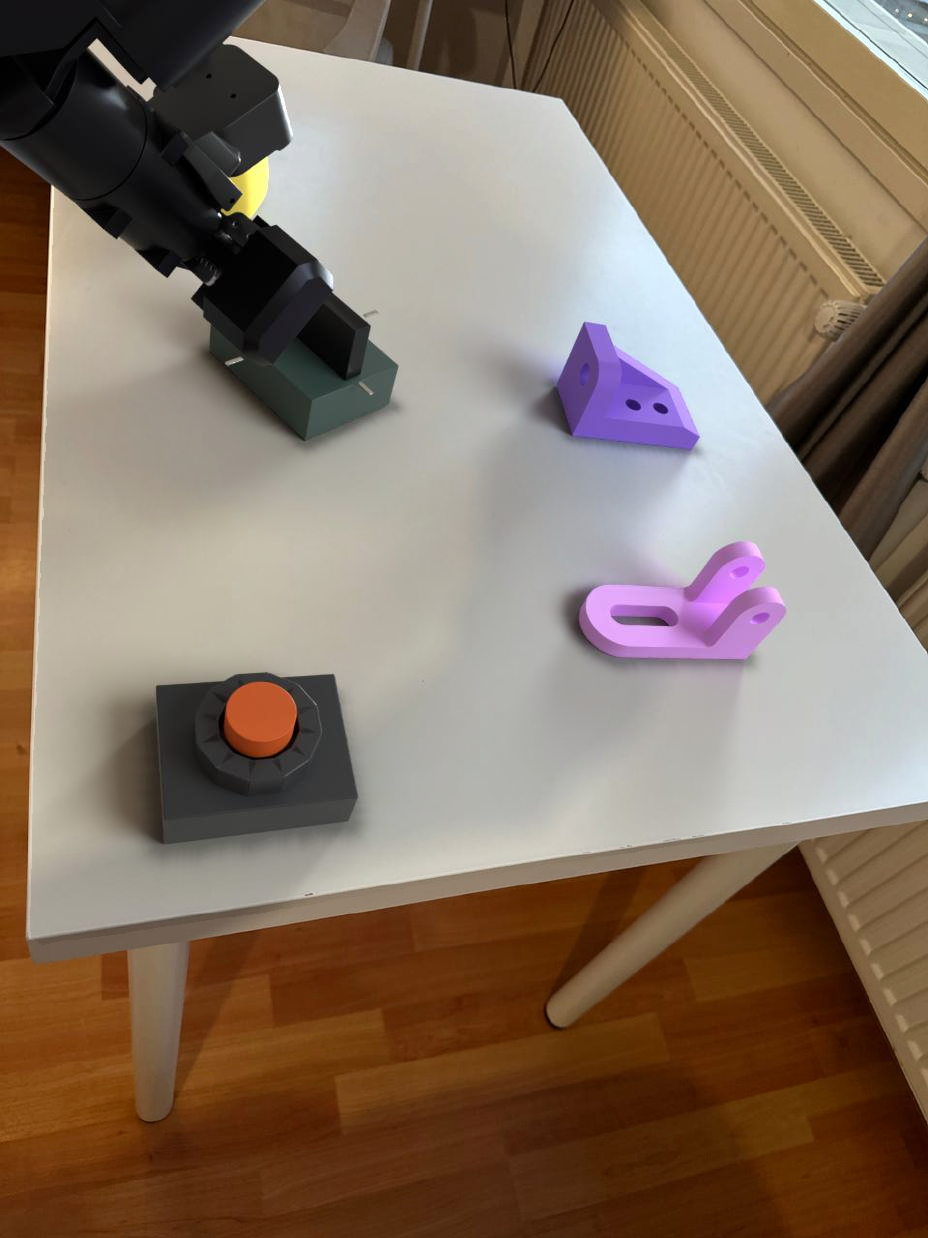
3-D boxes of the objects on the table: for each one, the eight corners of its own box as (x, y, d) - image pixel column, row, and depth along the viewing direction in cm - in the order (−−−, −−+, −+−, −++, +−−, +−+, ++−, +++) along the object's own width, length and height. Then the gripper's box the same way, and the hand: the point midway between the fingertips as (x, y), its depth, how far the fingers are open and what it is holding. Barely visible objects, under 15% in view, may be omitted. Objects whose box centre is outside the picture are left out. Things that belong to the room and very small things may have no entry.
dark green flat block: (428, 404, 74) (440, 364, 71) (286, 468, 65) (293, 426, 62) (311, 302, 78) (317, 260, 75) (163, 349, 69) (163, 304, 66)
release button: (227, 761, 45) (229, 744, 44) (220, 701, 47) (222, 683, 46) (297, 754, 46) (301, 738, 45) (288, 696, 48) (291, 679, 47)
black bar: (360, 374, 68) (372, 322, 64) (345, 381, 67) (355, 328, 63) (270, 294, 71) (276, 240, 67) (254, 299, 70) (259, 244, 66)
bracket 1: (572, 435, 77) (602, 372, 72) (556, 384, 81) (584, 321, 75) (692, 449, 80) (729, 390, 75) (671, 399, 84) (705, 340, 79)
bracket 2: (721, 600, 69) (767, 542, 64) (745, 659, 66) (796, 603, 61) (571, 594, 65) (607, 532, 60) (589, 656, 62) (629, 596, 57)
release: (163, 845, 46) (164, 804, 42) (155, 714, 51) (155, 666, 47) (349, 821, 50) (364, 782, 46) (326, 701, 54) (339, 656, 50)
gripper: (334, 103, 38) (444, 273, 53) (85, -89, 43) (249, 115, 58) (174, 305, 39) (325, 415, 54) (-49, 96, 44) (145, 249, 59)
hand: (261, 291), depth 56 cm, fingers open, 3 cm apart
